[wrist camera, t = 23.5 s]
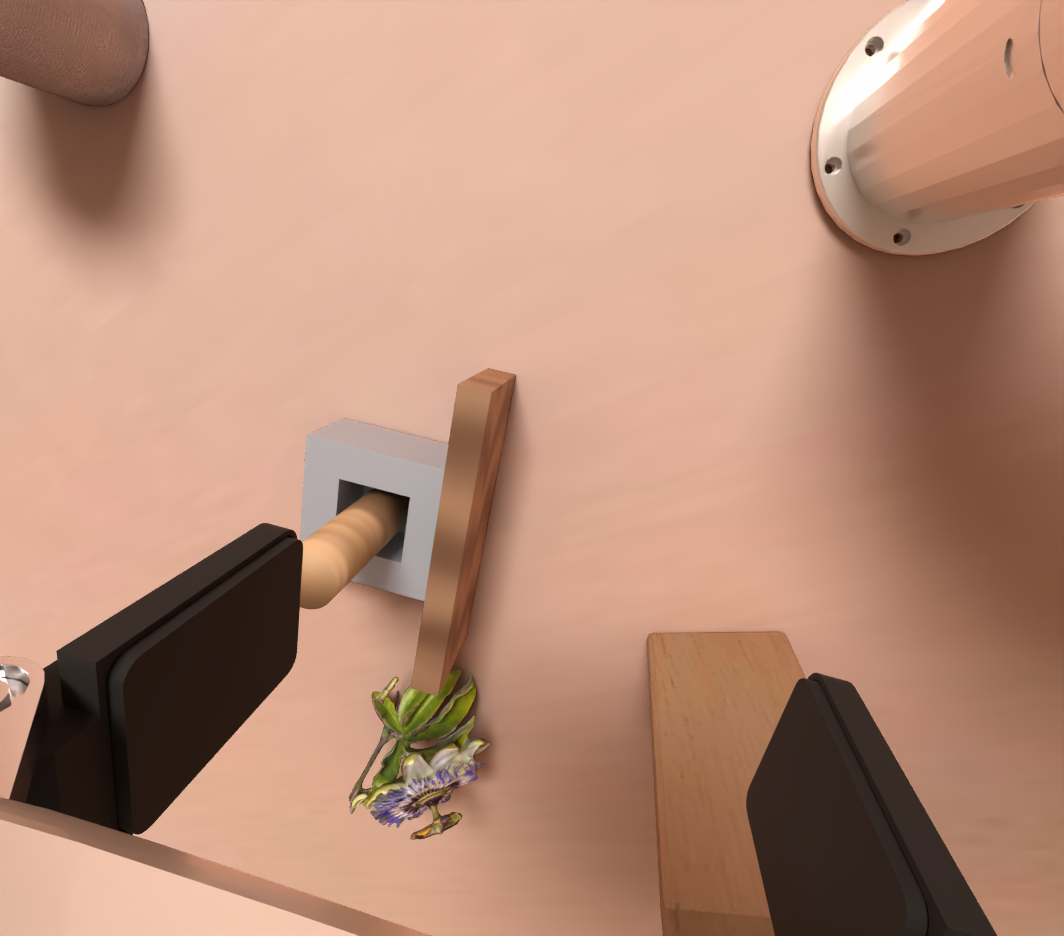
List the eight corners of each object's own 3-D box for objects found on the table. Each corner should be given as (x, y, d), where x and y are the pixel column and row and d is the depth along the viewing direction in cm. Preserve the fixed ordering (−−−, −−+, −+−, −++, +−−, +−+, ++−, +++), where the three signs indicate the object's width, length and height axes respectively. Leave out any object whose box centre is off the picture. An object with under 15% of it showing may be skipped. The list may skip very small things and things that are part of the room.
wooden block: (654, 735, 44) (673, 1061, 25) (646, 630, 41) (660, 909, 23) (785, 739, 42) (910, 1095, 23) (785, 628, 39) (928, 932, 21)
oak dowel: (376, 473, 40) (275, 543, 29) (421, 485, 40) (337, 560, 28) (371, 516, 41) (273, 599, 30) (415, 527, 41) (332, 616, 29)
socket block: (344, 418, 40) (306, 434, 35) (473, 450, 39) (451, 471, 34) (334, 536, 43) (298, 566, 39) (452, 569, 42) (430, 603, 38)
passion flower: (480, 701, 53) (432, 843, 46) (379, 657, 51) (312, 799, 44) (526, 691, 44) (474, 866, 37) (404, 637, 42) (326, 812, 35)
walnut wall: (488, 368, 37) (457, 384, 31) (515, 374, 37) (491, 392, 30) (443, 630, 45) (410, 688, 38) (466, 636, 44) (437, 696, 38)
